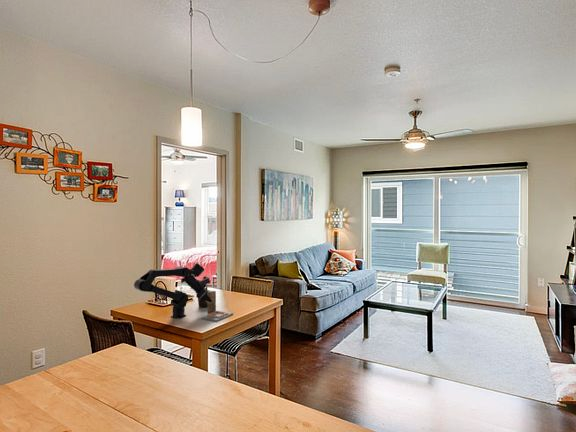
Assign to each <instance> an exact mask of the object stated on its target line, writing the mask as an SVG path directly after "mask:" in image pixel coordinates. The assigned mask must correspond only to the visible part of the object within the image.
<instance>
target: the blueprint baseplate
mask: <svg viewBox="0 0 576 432" xmlns="http://www.w3.org/2000/svg"><path fill="white" fill-rule="evenodd" d="M233 315H234V312H230V311H224V310H216V311H215V312H212V313H210V314H208V313H207V315H205V316H202V317H201V320H204V321H209V322H215V323H218V322H220V321H221V320H224V319H227V318H228V317H231V316H233Z"/></svg>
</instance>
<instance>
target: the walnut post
mask: <svg viewBox="0 0 576 432" xmlns="http://www.w3.org/2000/svg"><path fill="white" fill-rule="evenodd" d="M216 293H217V292H216V290H210V291H208V292H207V295H208V296H209V297H210V299H211V300H212V302H208V301H207V310H206V311H207V314H210V313H212V312H215V311H217V303H216V302H217V294H216Z"/></svg>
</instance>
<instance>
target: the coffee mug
mask: <svg viewBox="0 0 576 432" xmlns="http://www.w3.org/2000/svg"><path fill="white" fill-rule="evenodd" d="M207 290H208V291H211V290H209V289H207ZM197 301H198V302H197V303H198V308H200V309H206V308H207V301H205V300H202V299H198V298H197Z"/></svg>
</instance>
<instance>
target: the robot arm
mask: <svg viewBox="0 0 576 432" xmlns="http://www.w3.org/2000/svg"><path fill="white" fill-rule="evenodd" d="M204 271H205V268H204V267H203V266H202V265H200V264H199V263H197V262H196V263H195V264H194V265H193V266H192V267H191V269H190V268H189V267H186V266H177V267H174V268H165V269H164V268H163V269H150V270H148V271H147V272H146V273H145V274H144V275H142V276H140V277H139V278H138V279H136V280H135V282H134V283H133V287H134V289H136V290H138V291H139V292H140V291H141V292H145V293H146V292H147V293H154V294H158V295H159V296H160V295H161V296H163V297H167V298H169V299H171V301H170V302H169V303H170V305H171V306H172V315H171V316H170V318H173V319H180V318H183V317H186V316H187V314H185V308H186V306H187V303H188V301H189V295H188V294H187V293H186V292H183V291H181V290H178V289H175V290H174V291H171V290H168V289H165V288H162V287H159V286H156V285H154V284H153V282H154V281H155V279H156V278H157V277H174V276H175V277H180V284H183V283H185V284H187V286H189V287H190V289H191V290H193V291H194V292H195V294H196V298H197V300H198V299H202V300H205V301H208V302H212V300H211V299H210V297H209V296H208V295H207V292H208V290H209V289H208V284H211V282H212V281H211V280H210V276H207V275H206V276H203V277H202V279H201V280H200V279H197V278H199V277H200V276H201V274H202V273H203V272H204Z"/></svg>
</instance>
